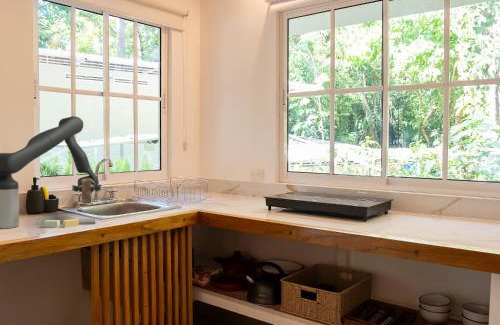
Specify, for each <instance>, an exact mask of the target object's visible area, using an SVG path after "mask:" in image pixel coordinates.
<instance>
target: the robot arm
mask: <svg viewBox="0 0 500 325" xmlns="http://www.w3.org/2000/svg"><path fill="white" fill-rule="evenodd" d="M83 128H84V122H83V119H82V118H80V117H78V116H76V115H75V116H74V115H72V116H69V117H63V118H61V119H60V120H59V121H58V126H56V127H52V128H50V129H45V130H44V131H42V132H40V133H38V134H36V135H34V136H33V137H31V138H30V139H29V140H28V142H27V144H26V145H25V146H24V147H23V148H21V149H19V150H17V151H15V152H11V153H10V152H9V153H8V152H0V229H13V228H17V227H19V226H20V216H19V215H20V207H19V206H20V205H19V204H20V202H19V201H20V200H19V197H20V196H19V182H18V181H17V180H16V179H14V178H13V176H12V175H13V174H17V173H19V172H20V171H21V170H23V169H24V168H25V167H26V166H28V165H29V164H30V163H31V162H32V161H34V160H36V159H37V158H40V157H42V155H44V154H47V152H50V151H51V150H52V149H53V148H55V147H56V146H59V145H60V144H61V143H63V142H65V144H66V146H67V148H68V150H69V152H70V154H71V157H72V159H73V162H74V165H75V168H76V171H77V173H78V174H88V175H86V176H84V177H79V178H78V180H77V185H75V184H73V185H72V186H71V190H72V192H75V193H77V192H78V193H79V192H80V193H82V179H91V194H93V192H100V191H102V184H99V183H100V182H99V179H98V176H96V174H95V173H94V171H93V170H92V167H91V164H90V162H89V159H88V156H87V154H86V153H85V151H84V150H83V148H82V147H81V145H80V144H79V143H78V141H77V140H76V137H75V135H77V134H79V133H81V132H82V130H83Z"/></svg>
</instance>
